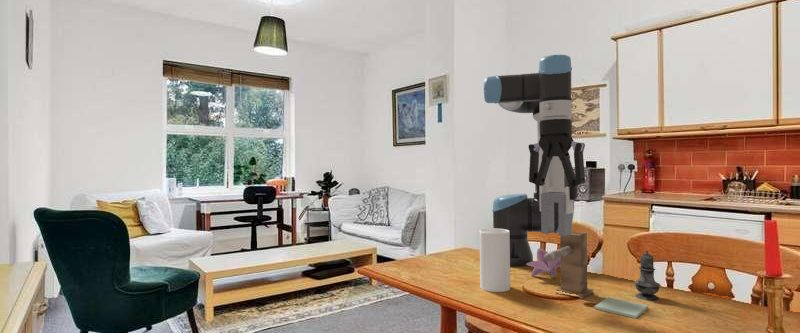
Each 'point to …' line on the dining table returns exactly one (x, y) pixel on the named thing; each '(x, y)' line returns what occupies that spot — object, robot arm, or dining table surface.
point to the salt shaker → (647, 279)
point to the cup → (495, 260)
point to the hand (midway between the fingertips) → (556, 211)
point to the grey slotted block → (548, 214)
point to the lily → (544, 264)
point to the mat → (621, 307)
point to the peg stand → (572, 264)
